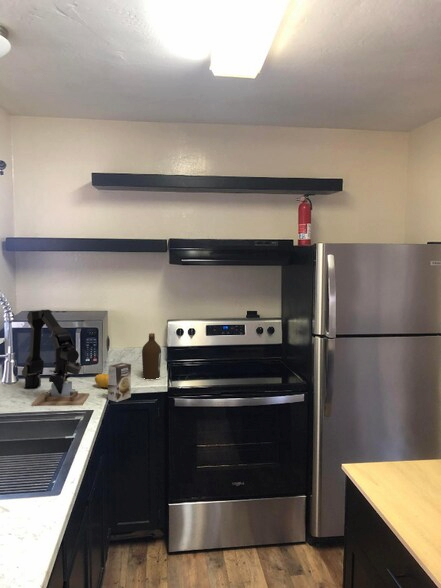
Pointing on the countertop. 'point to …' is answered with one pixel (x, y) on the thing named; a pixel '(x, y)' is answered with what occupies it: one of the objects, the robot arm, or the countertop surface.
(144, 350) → the olive oil
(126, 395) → the coffee box
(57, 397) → the brown wooden board
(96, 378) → the potato
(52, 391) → the block
